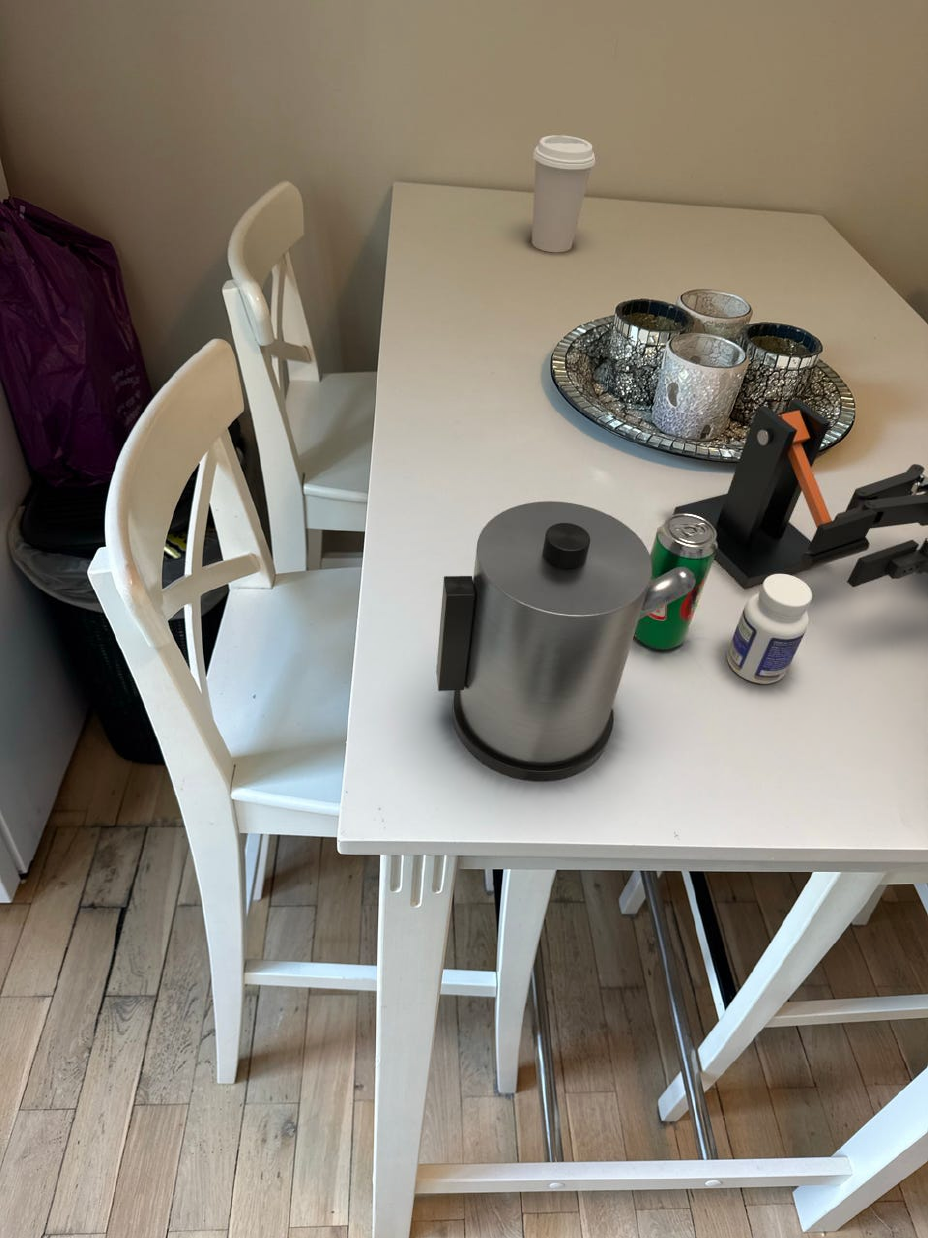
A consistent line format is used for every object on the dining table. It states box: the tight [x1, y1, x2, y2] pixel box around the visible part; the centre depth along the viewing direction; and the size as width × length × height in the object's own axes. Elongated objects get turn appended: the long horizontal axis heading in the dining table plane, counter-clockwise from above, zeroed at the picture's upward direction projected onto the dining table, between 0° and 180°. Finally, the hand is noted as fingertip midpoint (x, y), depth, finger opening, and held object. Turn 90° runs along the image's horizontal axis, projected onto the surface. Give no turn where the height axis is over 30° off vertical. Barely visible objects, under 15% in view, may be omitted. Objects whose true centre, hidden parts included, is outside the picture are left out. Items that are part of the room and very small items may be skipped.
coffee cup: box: [531, 134, 596, 254], centre depth 137 cm, size 10×10×15 cm
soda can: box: [634, 514, 718, 650], centre depth 76 cm, size 5×5×12 cm
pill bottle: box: [726, 574, 813, 685], centre depth 75 cm, size 5×5×9 cm
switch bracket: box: [672, 398, 831, 589], centre depth 85 cm, size 12×10×15 cm
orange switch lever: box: [779, 411, 870, 570], centre depth 81 cm, size 14×7×2 cm
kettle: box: [435, 500, 695, 782], centre depth 65 cm, size 18×13×19 cm
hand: (836, 555), depth 76 cm, fingers open, 4 cm apart
